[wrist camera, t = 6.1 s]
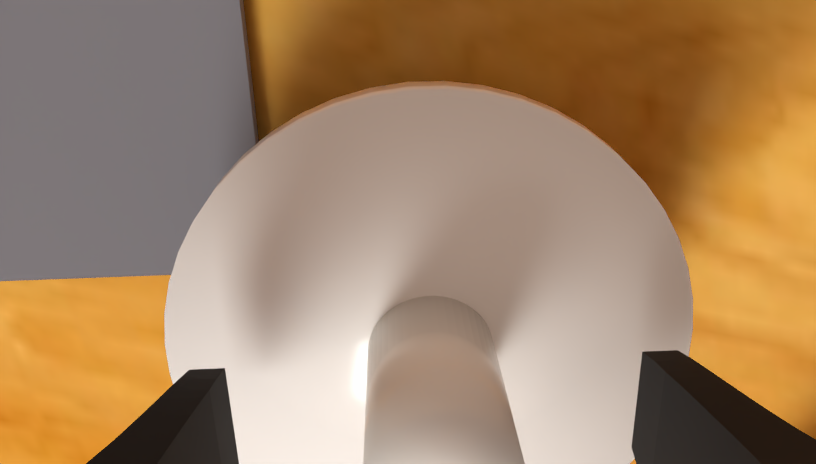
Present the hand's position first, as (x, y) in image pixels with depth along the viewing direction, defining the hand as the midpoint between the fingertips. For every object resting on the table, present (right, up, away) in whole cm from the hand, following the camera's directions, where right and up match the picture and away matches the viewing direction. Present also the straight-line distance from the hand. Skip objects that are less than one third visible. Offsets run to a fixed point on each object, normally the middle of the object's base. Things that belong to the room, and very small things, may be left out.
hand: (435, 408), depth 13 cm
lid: (0, +1, +2) cm, 2 cm away
